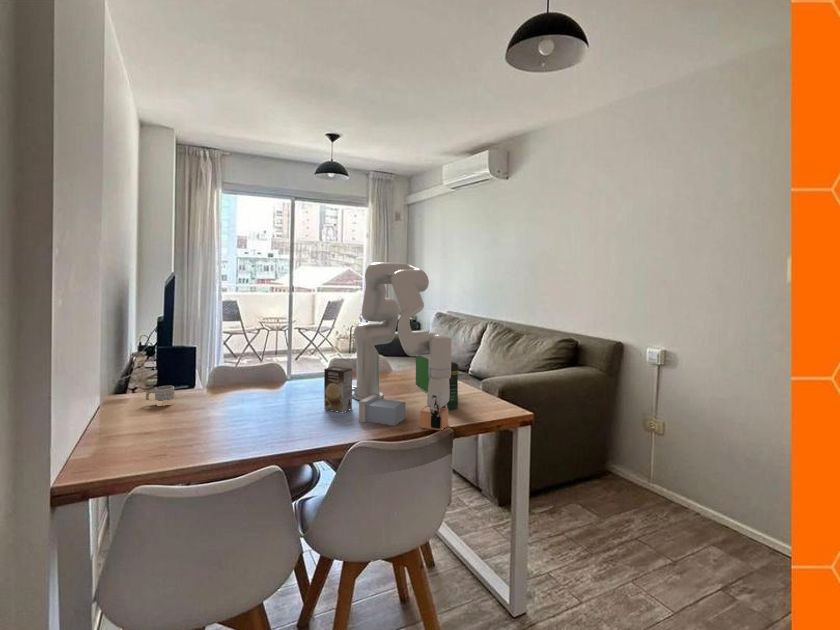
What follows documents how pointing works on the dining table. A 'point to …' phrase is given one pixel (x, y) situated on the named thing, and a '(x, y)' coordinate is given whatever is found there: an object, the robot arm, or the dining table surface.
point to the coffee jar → (453, 387)
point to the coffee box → (338, 388)
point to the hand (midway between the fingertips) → (439, 424)
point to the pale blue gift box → (381, 410)
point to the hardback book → (422, 372)
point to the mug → (162, 393)
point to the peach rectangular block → (426, 418)
